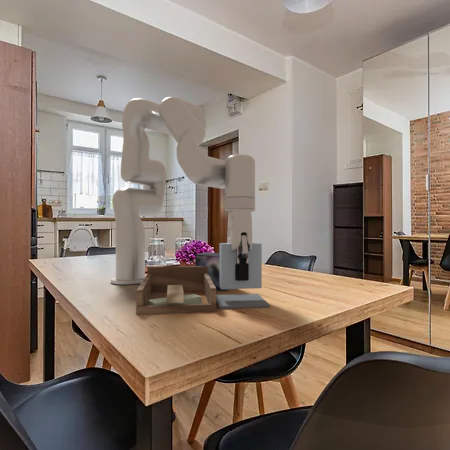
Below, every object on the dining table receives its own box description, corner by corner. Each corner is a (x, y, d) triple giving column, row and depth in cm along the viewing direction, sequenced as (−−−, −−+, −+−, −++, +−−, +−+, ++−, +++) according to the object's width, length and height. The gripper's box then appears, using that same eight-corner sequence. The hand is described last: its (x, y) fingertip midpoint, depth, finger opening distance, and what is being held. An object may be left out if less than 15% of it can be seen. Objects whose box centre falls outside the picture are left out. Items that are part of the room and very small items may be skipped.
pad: (213, 297, 86) (213, 295, 86) (257, 296, 88) (257, 293, 88) (218, 308, 74) (218, 306, 74) (269, 307, 76) (269, 304, 76)
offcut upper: (167, 303, 71) (167, 293, 71) (167, 294, 81) (167, 285, 81) (183, 302, 72) (183, 292, 72) (182, 293, 82) (182, 284, 82)
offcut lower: (148, 310, 75) (148, 299, 75) (194, 303, 82) (194, 293, 82) (154, 314, 72) (154, 303, 72) (201, 306, 78) (201, 296, 78)
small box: (193, 288, 99) (193, 253, 99) (205, 284, 105) (205, 252, 105) (224, 291, 94) (224, 255, 94) (234, 287, 100) (234, 253, 100)
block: (219, 286, 82) (219, 243, 82) (258, 285, 84) (258, 242, 84) (221, 289, 79) (221, 243, 79) (261, 288, 80) (261, 243, 80)
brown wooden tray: (147, 291, 94) (147, 266, 94) (207, 289, 97) (207, 266, 97) (136, 314, 70) (136, 281, 70) (216, 311, 72) (216, 279, 72)
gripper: (221, 207, 89) (221, 274, 89) (230, 203, 72) (230, 285, 72) (248, 207, 90) (248, 273, 90) (263, 203, 73) (263, 284, 73)
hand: (240, 278), depth 81 cm, fingers closed on block, 3 cm apart
